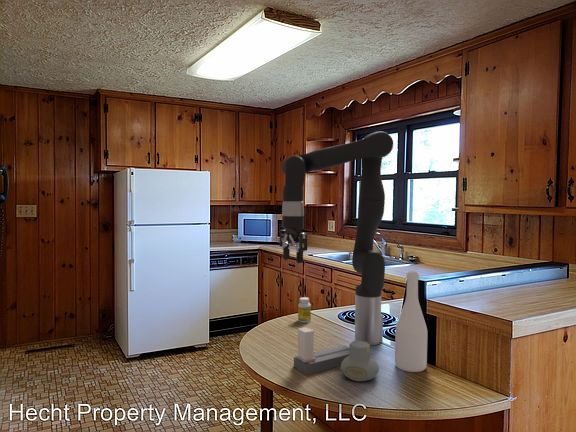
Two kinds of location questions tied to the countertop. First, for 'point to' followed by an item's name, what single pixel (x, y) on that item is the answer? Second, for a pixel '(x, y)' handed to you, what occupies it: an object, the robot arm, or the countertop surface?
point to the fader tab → (305, 345)
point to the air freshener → (359, 363)
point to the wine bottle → (411, 331)
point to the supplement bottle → (304, 310)
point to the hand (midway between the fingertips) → (292, 261)
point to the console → (323, 360)
